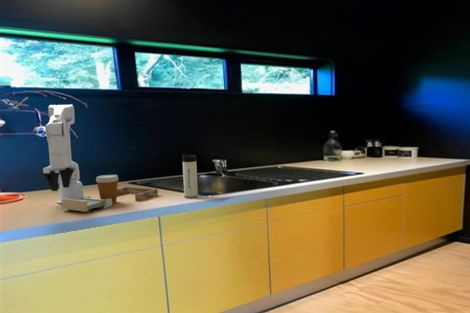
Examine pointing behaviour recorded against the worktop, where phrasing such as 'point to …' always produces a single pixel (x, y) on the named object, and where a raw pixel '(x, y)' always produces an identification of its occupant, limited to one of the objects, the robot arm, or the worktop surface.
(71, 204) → the beige grey flat-sided piece
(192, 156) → the travel mug
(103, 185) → the disposable coffee cup
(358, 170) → the worktop surface
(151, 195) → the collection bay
